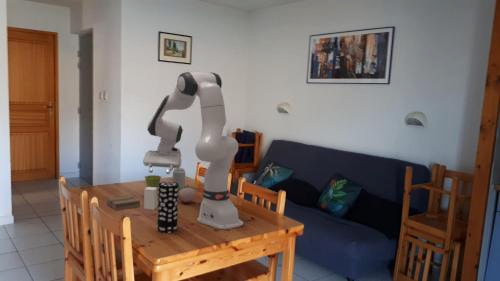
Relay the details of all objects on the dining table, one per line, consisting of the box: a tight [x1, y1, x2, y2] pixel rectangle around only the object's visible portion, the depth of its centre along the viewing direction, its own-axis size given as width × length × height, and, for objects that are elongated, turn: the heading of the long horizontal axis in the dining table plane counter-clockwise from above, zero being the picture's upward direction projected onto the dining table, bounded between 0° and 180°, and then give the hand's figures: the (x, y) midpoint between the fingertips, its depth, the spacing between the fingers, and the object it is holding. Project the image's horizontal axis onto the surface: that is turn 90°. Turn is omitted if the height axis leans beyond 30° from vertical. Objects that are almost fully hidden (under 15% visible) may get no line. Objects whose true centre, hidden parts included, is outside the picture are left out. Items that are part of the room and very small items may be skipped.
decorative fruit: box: [178, 184, 197, 204], centre depth 213 cm, size 9×8×10 cm
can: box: [171, 167, 186, 190], centre depth 243 cm, size 8×8×12 cm
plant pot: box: [144, 174, 162, 188], centre depth 233 cm, size 9×9×9 cm
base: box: [106, 195, 141, 211], centre depth 203 cm, size 12×12×3 cm
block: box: [143, 186, 158, 211], centre depth 202 cm, size 5×5×10 cm
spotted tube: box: [156, 181, 179, 234], centre depth 172 cm, size 8×8×20 cm
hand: (159, 172), depth 213 cm, fingers open, 8 cm apart
